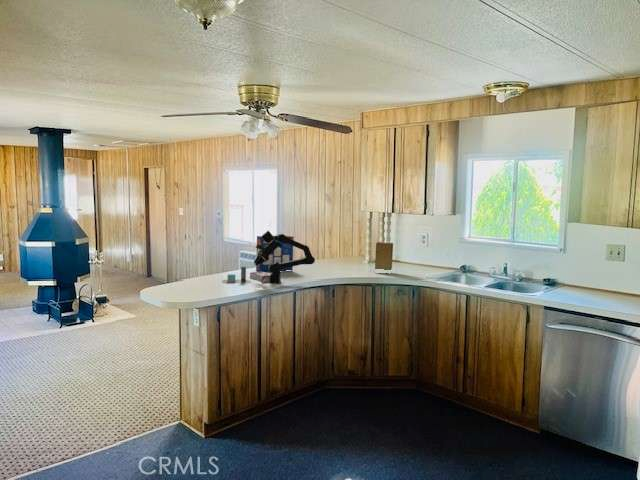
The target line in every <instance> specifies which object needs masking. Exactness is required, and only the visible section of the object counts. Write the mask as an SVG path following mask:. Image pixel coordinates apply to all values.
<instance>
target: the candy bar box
mask: <svg viewBox="0 0 640 480" xmlns="http://www.w3.org/2000/svg"><path fill="white" fill-rule="evenodd" d="M271 274H272V273H271V272H269V273H266V272H256V271H252V272H249V278H251V279H252V280H257V281H260V282H261V283H270V276H271Z"/></svg>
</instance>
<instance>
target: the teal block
mask: <svg viewBox="0 0 640 480" xmlns="http://www.w3.org/2000/svg"><path fill="white" fill-rule="evenodd" d="M227 280H228V282H235V280H236V273H233V272H231V273H227Z"/></svg>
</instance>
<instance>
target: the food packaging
mask: <svg viewBox="0 0 640 480" xmlns="http://www.w3.org/2000/svg"><path fill="white" fill-rule="evenodd" d="M393 256H394V242H385V241H383V242H381V241H377V242H376V243H375V261H374V265H375V266H374V270H375V269H384V270H391V269H392V270H393Z"/></svg>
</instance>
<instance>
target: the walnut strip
mask: <svg viewBox="0 0 640 480" xmlns="http://www.w3.org/2000/svg"><path fill="white" fill-rule="evenodd" d="M246 276H247V267H246V266H241V268H240V279H235V282H228V279H222V282H221V283H222V284H252V280H251V279H246V278H247V277H246Z"/></svg>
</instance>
